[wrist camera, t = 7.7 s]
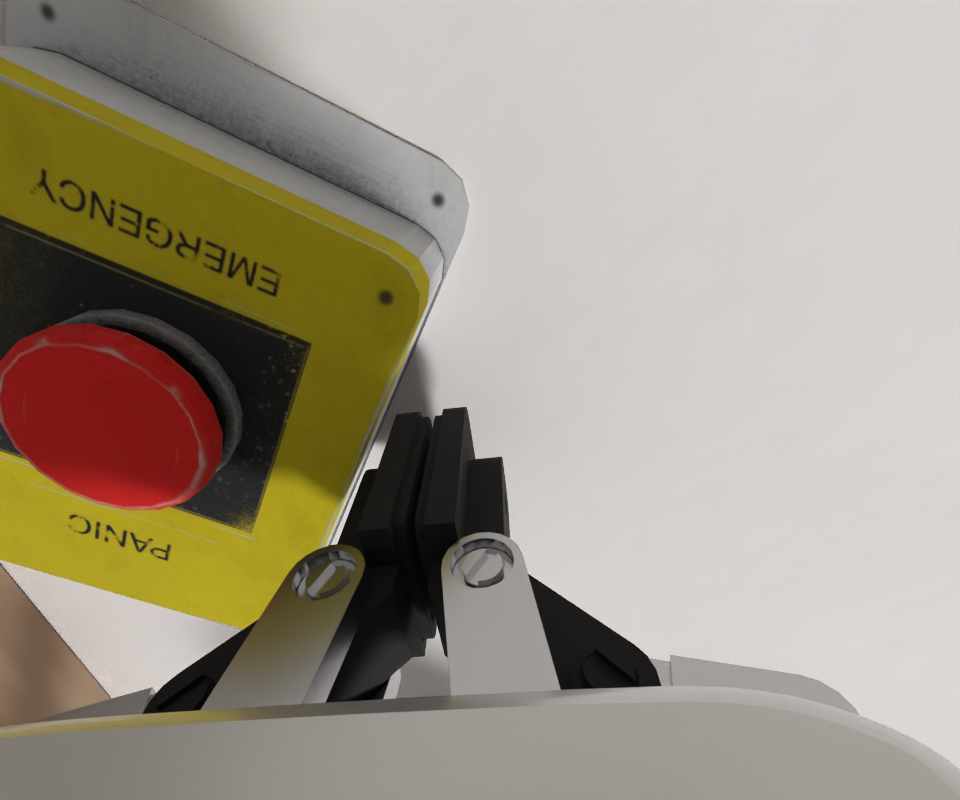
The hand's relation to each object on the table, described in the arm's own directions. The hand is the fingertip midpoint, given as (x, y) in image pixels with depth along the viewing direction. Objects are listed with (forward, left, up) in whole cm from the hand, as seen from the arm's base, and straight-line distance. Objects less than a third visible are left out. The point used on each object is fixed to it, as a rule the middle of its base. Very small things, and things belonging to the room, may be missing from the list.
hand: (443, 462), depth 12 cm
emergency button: (-2, -6, -2) cm, 7 cm away
